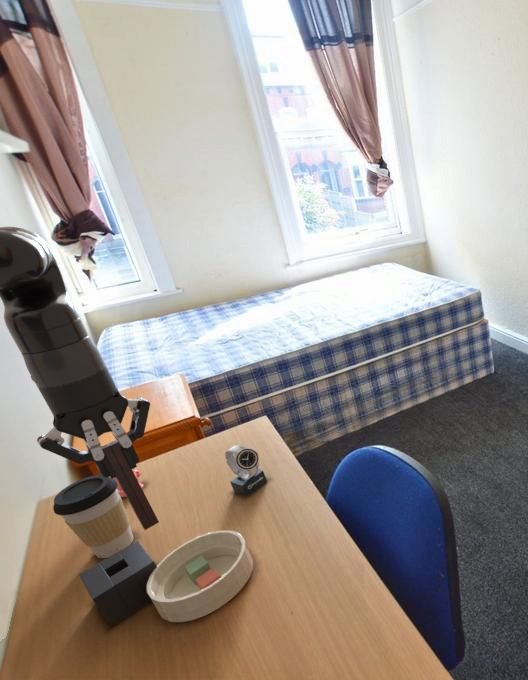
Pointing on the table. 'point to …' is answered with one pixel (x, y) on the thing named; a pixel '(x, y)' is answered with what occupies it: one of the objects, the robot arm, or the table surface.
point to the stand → (120, 582)
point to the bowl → (185, 597)
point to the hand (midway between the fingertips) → (123, 470)
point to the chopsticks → (130, 485)
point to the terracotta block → (207, 578)
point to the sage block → (197, 568)
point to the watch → (245, 469)
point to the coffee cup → (95, 514)
